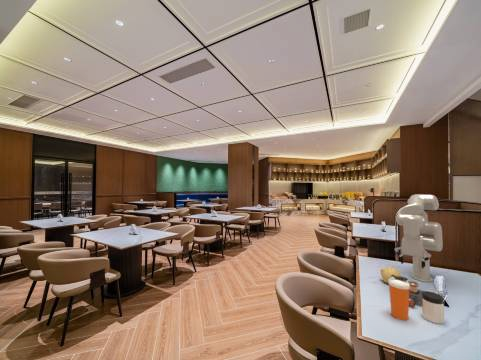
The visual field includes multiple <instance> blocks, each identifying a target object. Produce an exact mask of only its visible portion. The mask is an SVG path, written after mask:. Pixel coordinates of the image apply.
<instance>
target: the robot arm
mask: <svg viewBox="0 0 481 360" xmlns="http://www.w3.org/2000/svg"><path fill="white" fill-rule="evenodd" d="M406 203H407V205H405V206H403V207H401V208H400V209H399V210H398V211H397V212H396V216H395V221H396V224H397V225H399V226H403V227H402V228H403V229H402V230H403V237H401V238H402V239H401V246H398V247H394V252H395V253H396V255H398V257H399V262H400V265H403V264H404V263H405V262H404V255H405V256H409V257H412V273H410V277H411V278H412V279H414V280H417V281H420V282H425V283H432V282H433V281H434V279H433V278H432V277H431V269H430V267H431V264H430V263H431V262H430V258H431V257H432V254H430V253H429V252H428V251H433V252H441V251H442V250H443V246H444V245H443V244H444V243H443V229H442V228H443V227H442V224H440V223H439V222H435V221H434V222H433V221H429V219H428V218H429V217H428V213H427V212H426V211H437V210H438V209H439V206H440V203H439V201H438V197H437V196H435V195H434V194H423V193H422V194H421V193H420V194H418V193H417V194H416V193H415V194H412V195H411V196H410V197H409V198H408V199H407V202H406ZM426 235H428V236H426ZM400 252H401V253H400Z"/></svg>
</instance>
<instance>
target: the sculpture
mask: <svg viewBox="0 0 481 360" xmlns="http://www.w3.org/2000/svg"><path fill="white" fill-rule="evenodd" d="M392 274H393V275H395V276H400V277H403V276H402V274H401V273H400V272H399V269H397V268H393V267H390V266H387V267H384V268H380V275H381V278H382V280H383V281H384V283H385V284H388V283H389V279H390V277H391V275H392Z"/></svg>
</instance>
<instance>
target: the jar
mask: <svg viewBox="0 0 481 360" xmlns="http://www.w3.org/2000/svg"><path fill="white" fill-rule="evenodd" d="M422 291H423V292H422V306H421V314H422V317H423V319H424V320H427V321H428V322H431V323H434V324H441V325H442V324H445V304H444V297H443V296H442V295H440V294H438V293H436V292H433V291H427V290H422Z"/></svg>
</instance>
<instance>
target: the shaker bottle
mask: <svg viewBox="0 0 481 360" xmlns="http://www.w3.org/2000/svg"><path fill="white" fill-rule="evenodd" d="M408 281H409V279H408V278H407V277H406V276H405V277H404V276H402V277H400V276H395V275H393V274H392V275H391V277H390V279H389V283H387V284H388V288H389V300H390V301H389V302H390V313H391V316H392V317H394V318H396V319H398V320H400V321H401V320H402V321H408V319H409V308H410V307H409V289H410V284H409V283H408Z"/></svg>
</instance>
